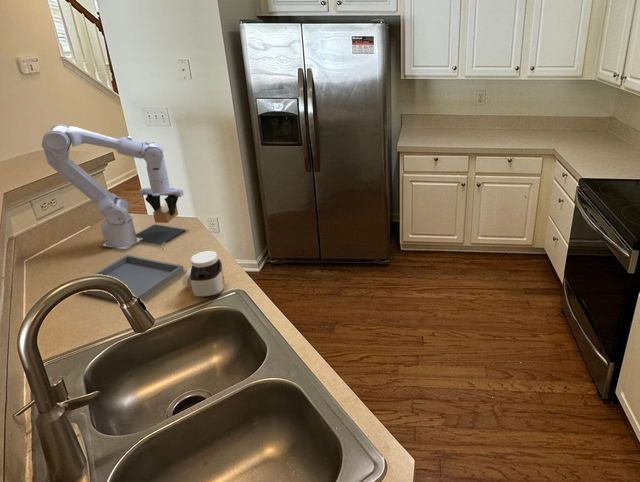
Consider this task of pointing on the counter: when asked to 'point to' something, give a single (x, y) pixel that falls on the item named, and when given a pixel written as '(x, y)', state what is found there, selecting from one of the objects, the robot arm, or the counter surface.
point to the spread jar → (205, 275)
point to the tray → (140, 275)
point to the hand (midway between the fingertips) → (165, 214)
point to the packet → (164, 214)
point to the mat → (159, 234)
